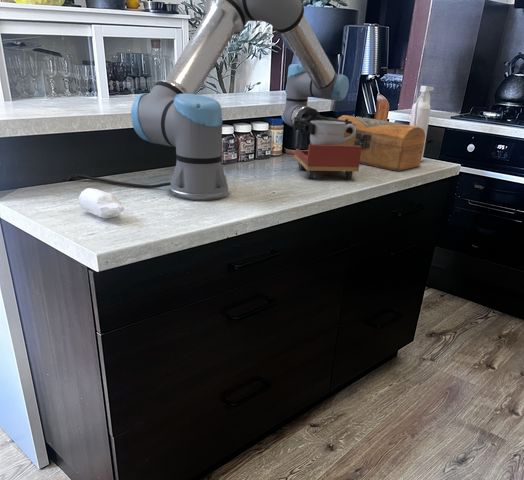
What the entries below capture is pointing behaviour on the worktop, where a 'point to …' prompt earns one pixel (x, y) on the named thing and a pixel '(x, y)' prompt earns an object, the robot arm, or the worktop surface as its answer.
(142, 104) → the robot arm
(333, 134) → the teacup
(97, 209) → the roll
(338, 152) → the cart
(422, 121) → the white spray bottle
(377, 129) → the wooden box
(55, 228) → the worktop surface
